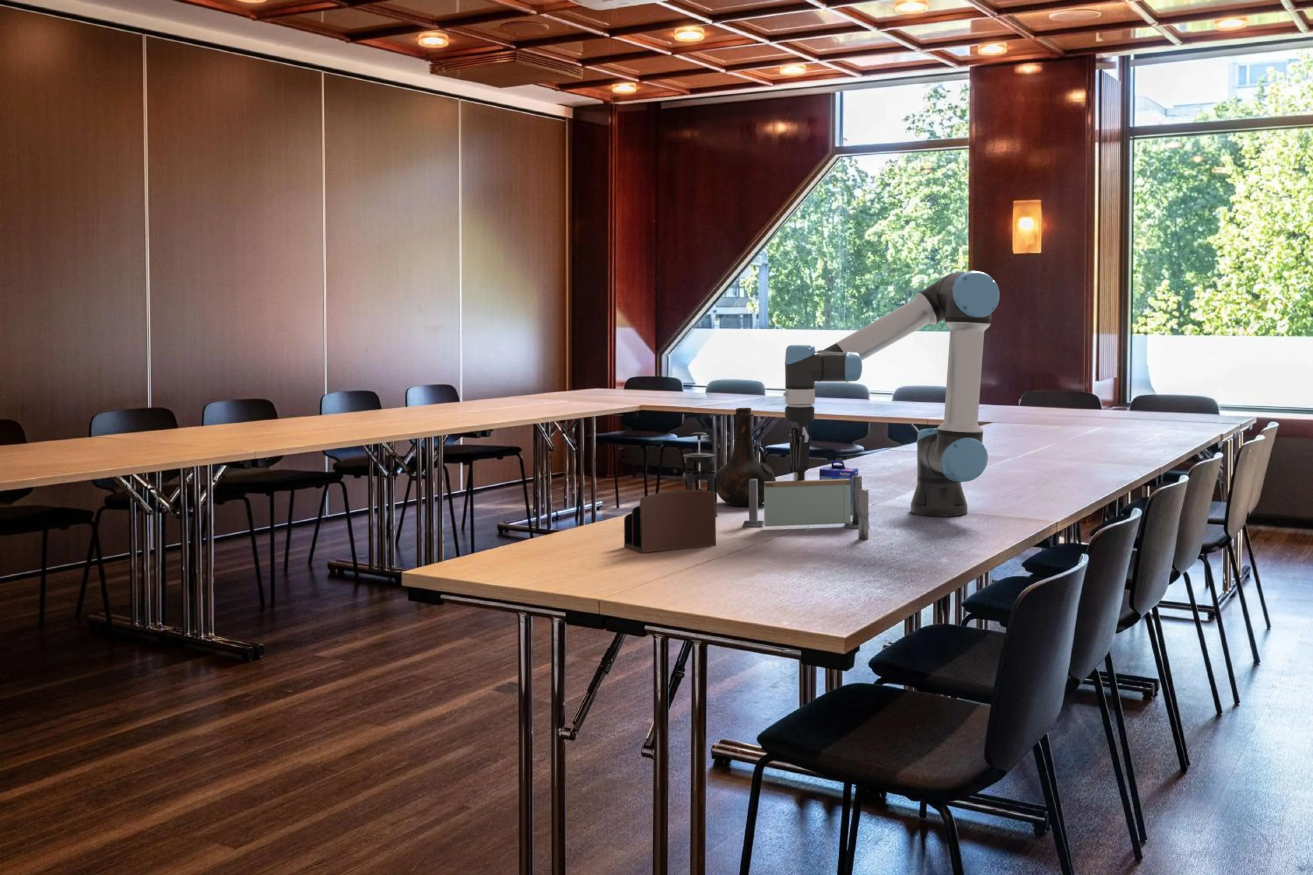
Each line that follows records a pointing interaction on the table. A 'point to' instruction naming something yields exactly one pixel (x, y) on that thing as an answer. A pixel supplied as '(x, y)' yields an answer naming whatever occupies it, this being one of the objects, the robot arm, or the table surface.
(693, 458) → the french press
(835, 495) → the gate
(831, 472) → the ink cartridge box
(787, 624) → the table surface
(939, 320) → the robot arm
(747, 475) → the dark brown vase
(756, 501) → the pair of grey posts
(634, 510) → the letter holder
